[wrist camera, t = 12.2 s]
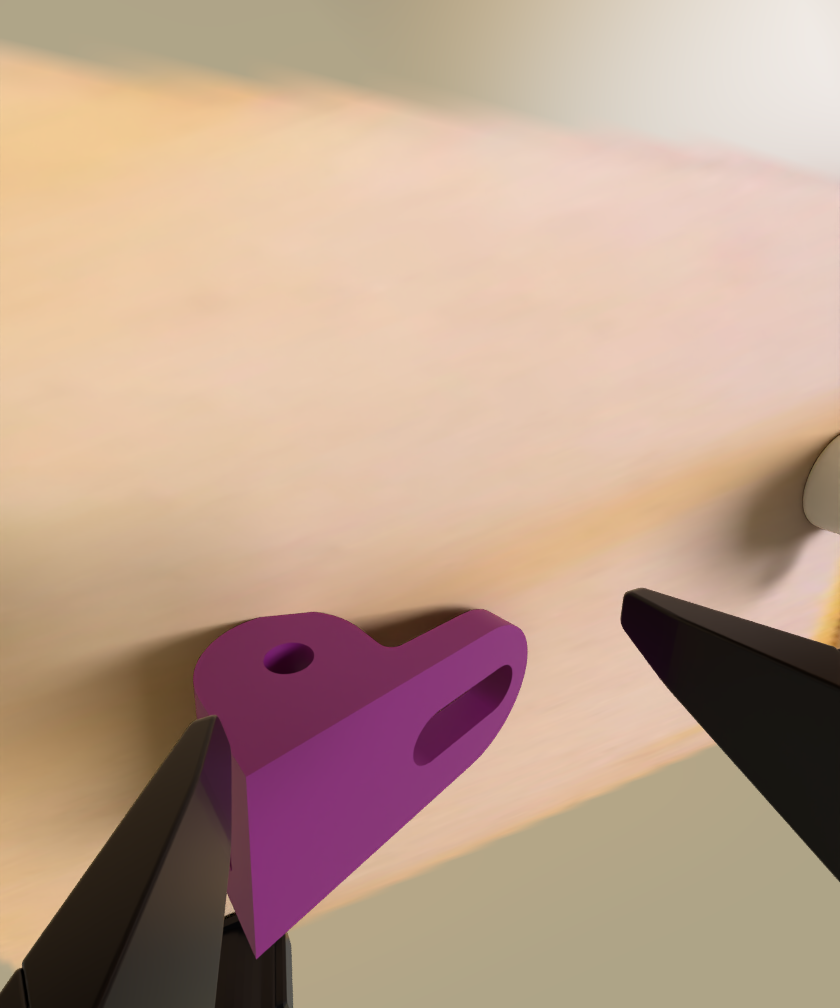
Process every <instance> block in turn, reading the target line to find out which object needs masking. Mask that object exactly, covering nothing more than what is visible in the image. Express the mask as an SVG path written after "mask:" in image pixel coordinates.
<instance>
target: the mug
mask: <svg viewBox="0 0 840 1008" xmlns="http://www.w3.org/2000/svg"><path fill="white" fill-rule="evenodd" d="M803 508H804V513H805V515H806V517H807V519H808V520H809V521H810V522H811V523H812V524H813V525H815V526H817V527H819V528H821V529H824V530H827V531H831V532H834V533H837V534H840V435H839V436H837V437H836V438H835V439H834V440H833V441H832V442H831V443H830V444H829V445H828V446H827V447H826V448H825V449H824V450H823V452H822V453H821V454H820V456H819V457H818V459H817V460H816V462H815V464H814V466H813V468H812V470H811V472H810V474H809V476H808V479H807V482H806V485H805V489H804V495H803Z"/></svg>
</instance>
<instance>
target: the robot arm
mask: <svg viewBox="0 0 840 1008" xmlns="http://www.w3.org/2000/svg"><path fill="white" fill-rule="evenodd" d="M621 625H622V627H623V629H624V631H625V632H626V633H627V635H628V636H629V638H630V639H631V640H632V642H633V643H634V644H635V646H636V647H637V648H638V650H639V651H640V652H641V654H642V655H643V656H644V658H645V659H646V660H647V662H648V663H649V664H650V666H651V667H652V669H653V670H654V671H655V673H656V674H657V675H658V677H659V678H660V679H661V680H662V682H663V683H664V684H665V686H666V687H667V688H668V689H669V690H670V691H671V693H672V694H673V695H674V696H675V697H676V698H677V699H678V701H679V702H680V703H681V704H682V705H683V706H684V707H685V708H686V710H687V711H688V712H689V713H690V714H691V715H692V716H693V717H694V719H695V720H696V721H697V722H698V723H699V724H700V725H701V726H702V728H703V729H704V730H705V731H706V732H707V733H708V734H709V736H710V737H711V738H712V739H713V740H714V741H715V742H716V743H717V745H718V746H719V747H720V748H721V749H722V750H723V751H724V752H725V754H726V755H728V757H729V758H730V759H731V760H732V761H733V762H734V764H735V765H736V766H737V767H738V768H739V769H740V770H741V771H742V773H743V774H744V775H745V776H746V777H747V778H748V779H749V781H750V782H751V783H752V784H753V785H754V786H755V787H756V788H757V790H758V791H759V792H760V793H761V794H762V795H763V796H764V797H765V798H766V800H767V801H768V802H769V803H770V804H771V805H772V806H773V808H774V809H775V810H776V811H777V812H778V813H779V814H780V815H781V816H782V817H783V819H784V820H785V821H786V822H787V823H788V824H789V825H790V827H791V828H792V829H793V830H794V831H795V832H796V833H797V835H798V836H799V837H800V838H801V839H802V840H803V841H804V842H805V843H806V845H807V846H808V847H809V848H810V849H811V850H812V851H813V853H814V854H815V855H816V856H817V857H818V858H819V859H820V861H821V862H822V863H823V864H824V865H825V866H826V867H827V868H828V870H829V871H830V872H831V873H832V874H833V875H834V876H835V877H836V879H837V880H838V881H839V882H840V649H836V648H835V647H833V646H830V645H826V644H823V643H820V642H817V641H813V640H810V639H807V638H804V637H801V636H797V635H794V634H791V633H788V632H784V631H781V630H778V629H775V628H771V627H768V626H765V625H762V624H758V623H755V622H752V621H749V620H746V619H742V618H739V617H736V616H733V615H729V614H726V613H723V612H720V611H716V610H713V609H710V608H707V607H704V606H700V605H697V604H694V603H691V602H687V601H684V600H681V599H678V598H674V597H671V596H668V595H665V594H661V593H658V592H655V591H652V590H649V589H645V588H637V589H634V590H631V591H627V592H626V593H625V594H624V597H623V604H622V611H621ZM231 832H232V756H231V747H230V743H229V741H228V738H227V736H226V733H225V731H224V728H223V726H222V723H221V721H220V719H219V717H218V716H217V715H210V716H207V717H204V718H200V719H197V720H194V721H193V722H192V723H191V724H190V725H189V726H188V728H187V729H186V730H185V732H184V733H183V735H182V736H181V738H180V739H179V740H178V742H177V743H176V745H175V746H174V747H173V749H172V750H171V752H170V753H169V755H168V756H167V757H166V759H165V760H164V762H163V763H162V764H161V766H160V767H159V769H158V770H157V772H156V773H155V774H154V776H153V777H152V779H151V780H150V781H149V783H148V784H147V786H146V787H145V789H144V790H143V791H142V793H141V794H140V796H139V797H138V798H137V800H136V801H135V803H134V804H133V806H132V807H131V808H130V810H129V811H128V813H127V814H126V815H125V817H124V818H123V820H122V821H121V823H120V824H119V825H118V827H117V828H116V830H115V831H114V832H113V834H112V835H111V837H110V838H109V840H108V841H107V842H106V844H105V845H104V847H103V848H102V849H101V851H100V852H99V854H98V855H97V857H96V858H95V859H94V861H93V862H92V864H91V865H90V866H89V868H88V869H87V871H86V872H85V874H84V875H83V876H82V878H81V879H80V881H79V882H78V883H77V885H76V886H75V888H74V889H73V891H72V892H71V893H70V895H69V896H68V898H67V899H66V900H65V902H64V903H63V905H62V906H61V908H60V909H59V910H58V912H57V913H56V915H55V916H54V917H53V919H52V920H51V922H50V923H49V925H48V926H47V927H46V929H45V930H44V932H43V933H42V934H41V936H40V937H39V939H38V940H37V942H36V943H35V944H34V946H33V947H32V949H31V950H30V951H29V953H28V954H27V956H26V957H25V959H24V960H23V962H22V968H19V969H17V970H16V971H15V972H14V974H13V975H12V977H11V978H10V979H9V981H8V982H7V984H6V985H5V987H4V988H3V989H2V991H1V992H0V1008H293V987H292V955H291V943H290V940H289V937H288V933H287V932H286V933H285V934H284V935H283V936H282V937H280V938H279V939H278V940H277V941H276V942H275V943H274V944H273V945H272V946H271V947H269V948H268V949H267V950H266V951H265V952H264V953H263V954H262V955H261V956H259V957H258V958H257V959H256V958H255V955H254V953H253V951H252V949H251V946H250V944H249V942H248V939H247V937H246V935H245V933H244V930H243V928H242V926H241V924H240V921H239V919H238V917H237V915H234V916H232V917H230V918H227V919H225V920H224V913H225V904H226V894H227V885H228V876H229V866H230V855H231Z"/></svg>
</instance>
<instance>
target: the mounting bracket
mask: <svg viewBox="0 0 840 1008" xmlns="http://www.w3.org/2000/svg"><path fill="white" fill-rule="evenodd" d="M526 664H527V641H526V638H525V635H524V633H523V632H522V630H521V629H520V628H518V627H517V626H515V625H513V624H511V623H509V622H507V621H506V620H504V619H502V618H500V617H498V616H496V615H495V614H493V613H491V612H489V611H487V610H483V609H476V610H471V611H468V612H466V613H463V614H461V615H459V616H457V617H455V618H453V619H451V620H449V621H448V622H446V623H444V624H442V625H440V626H438V627H436V628H434V629H432V630H430V631H428V632H426V633H424V634H422V635H420V636H418V637H416V638H414V639H412V640H410V641H408V642H406V643H404V644H402V645H400V646H397V647H386V646H382V645H380V644H379V643H378V642H376V641H375V640H374V639H372V638H371V637H370V636H369V635H367V634H366V633H365V632H363V631H362V630H361V629H359V628H358V627H357V626H355V625H354V624H352V623H350V622H349V621H347V620H344V619H342V618H339V617H336V616H333V615H329V614H324V613H318V612H308V613H298V614H288V615H278V616H268V617H259V618H256V619H253V620H250V621H247V622H245V623H242V624H240V625H238V626H236V627H234V628H232V629H230V630H229V631H227V632H225V633H224V634H223V635H221V636H220V637H218V638H217V639H216V640H215V641H213V642H212V643H211V644H210V645H209V646H208V647H207V648H206V650H205V651H204V652H203V653H202V655H201V656H200V658H199V660H198V662H197V664H196V667H195V670H194V675H193V684H194V694H195V705H196V715H197V719H200V718H204V717H207V716H210V715H217V716H218V717H219V719H220V721H221V723H222V726H223V728H224V731H225V733H226V736H227V738H228V741H229V743H230V747H231V756H232V832H231V855H230V866H229V876H228V885H227V894H228V896H229V899H230V901H231V903H232V905H233V908H234V910H235V912H236V914H237V917H238V919H239V921H240V924H241V926H242V928H243V930H244V933H245V935H246V937H247V939H248V942H249V944H250V946H251V949H252V951H253V953H254V955H255V958H256V959H257V958H258V957H259V956H261V955H262V954H263V953H264V952H265V951H266V950H267V949H268V948H269V947H271V946H272V945H273V944H274V943H275V942H276V941H277V940H278V939H279V938H280V937H282V936H283V935H284V934H285V933H286V932H287V931H288V930H289V929H290V928H292V927H293V926H294V925H295V924H296V923H297V922H298V921H299V920H300V919H301V918H303V917H304V916H305V915H306V914H307V913H308V912H309V911H310V910H311V909H313V908H314V907H315V906H316V905H317V904H318V903H319V902H320V901H321V900H322V899H324V898H325V897H326V896H327V895H328V894H329V893H330V892H331V891H332V890H334V889H335V888H336V887H337V886H338V885H339V884H340V883H341V882H342V881H343V880H345V879H346V878H347V877H348V876H349V875H350V874H351V873H352V872H353V871H355V870H356V869H357V868H358V867H359V866H360V865H361V864H362V863H363V862H364V861H366V860H367V859H368V858H369V857H370V856H371V855H372V854H373V853H374V852H376V851H377V850H378V849H379V848H380V847H381V846H382V845H383V844H384V843H386V842H387V841H388V840H389V839H390V838H391V837H392V836H393V835H394V834H395V833H397V832H398V831H399V830H400V829H401V828H402V827H403V826H404V825H405V824H407V823H408V822H409V821H410V820H411V819H412V818H413V817H414V816H415V815H416V814H418V813H419V812H420V811H421V810H422V809H423V808H424V807H425V806H426V805H428V804H429V803H430V802H431V801H432V800H433V799H434V798H435V797H436V796H437V795H439V794H440V793H441V792H442V791H443V790H444V789H445V788H446V787H447V786H449V785H450V784H451V783H452V782H453V781H454V780H455V779H456V778H457V777H458V776H460V775H461V774H462V773H463V772H464V771H465V770H466V769H467V768H468V767H470V766H471V765H472V764H473V763H474V762H475V761H476V760H477V759H478V758H479V757H480V756H481V755H482V753H483V752H484V751H485V750H486V749H487V748H488V746H489V745H490V744H491V742H492V741H493V740H494V738H495V737H496V735H497V734H498V732H499V731H500V729H501V728H502V726H503V724H504V722H505V721H506V719H507V717H508V715H509V713H510V711H511V709H512V707H513V705H514V703H515V701H516V698H517V696H518V693H519V690H520V688H521V685H522V681H523V678H524V674H525V669H526ZM469 689H470V690H469ZM468 690H469V691H468ZM466 691H468V692H466ZM465 692H466V693H465ZM463 693H465V694H463ZM462 694H463V695H462ZM461 695H462V696H461ZM459 696H461V697H459ZM458 697H459V698H458ZM456 698H458V699H456ZM455 699H456V700H455ZM454 700H455V701H454ZM452 701H454V702H452ZM451 702H452V703H451ZM449 703H451V704H449ZM448 704H449V705H448ZM447 705H448V706H447ZM445 706H447V707H445ZM444 707H445V708H444ZM442 708H444V709H442ZM441 709H442V710H441ZM439 710H441V711H440V712H438V711H439ZM437 712H438V713H437ZM436 713H437V714H436ZM434 714H435V715H434ZM433 715H434V716H433ZM432 716H433V717H432Z"/></svg>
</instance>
